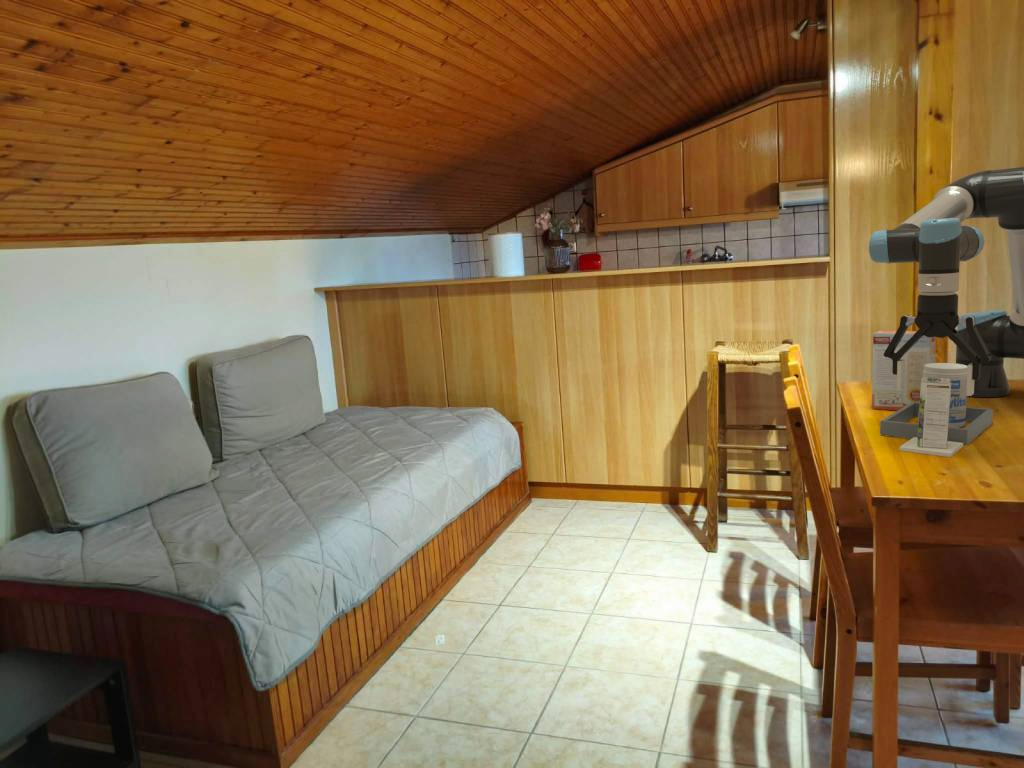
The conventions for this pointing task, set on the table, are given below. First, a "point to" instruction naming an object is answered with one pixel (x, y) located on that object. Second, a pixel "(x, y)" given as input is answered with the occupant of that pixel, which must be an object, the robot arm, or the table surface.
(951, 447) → the board
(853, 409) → the table surface
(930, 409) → the syrup box
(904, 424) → the bin
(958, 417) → the supplement tub
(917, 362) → the cracker box
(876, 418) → the table surface
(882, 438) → the table surface
